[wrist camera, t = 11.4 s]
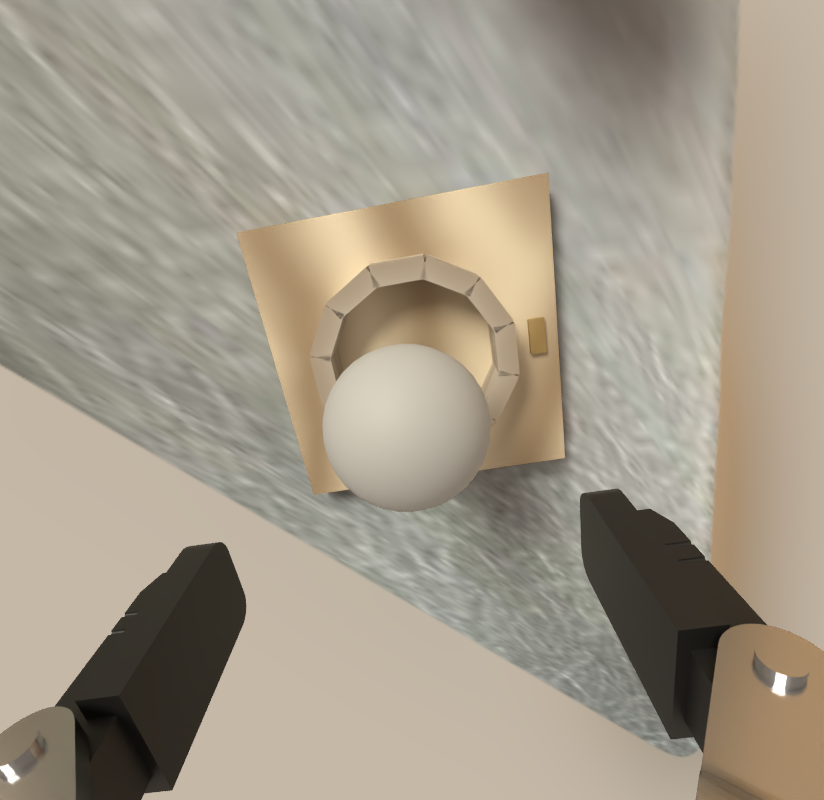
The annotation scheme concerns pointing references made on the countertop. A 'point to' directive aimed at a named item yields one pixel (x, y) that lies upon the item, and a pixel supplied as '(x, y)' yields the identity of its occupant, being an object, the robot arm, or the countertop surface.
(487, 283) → the lamp holder
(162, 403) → the countertop surface
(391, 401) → the lightbulb
